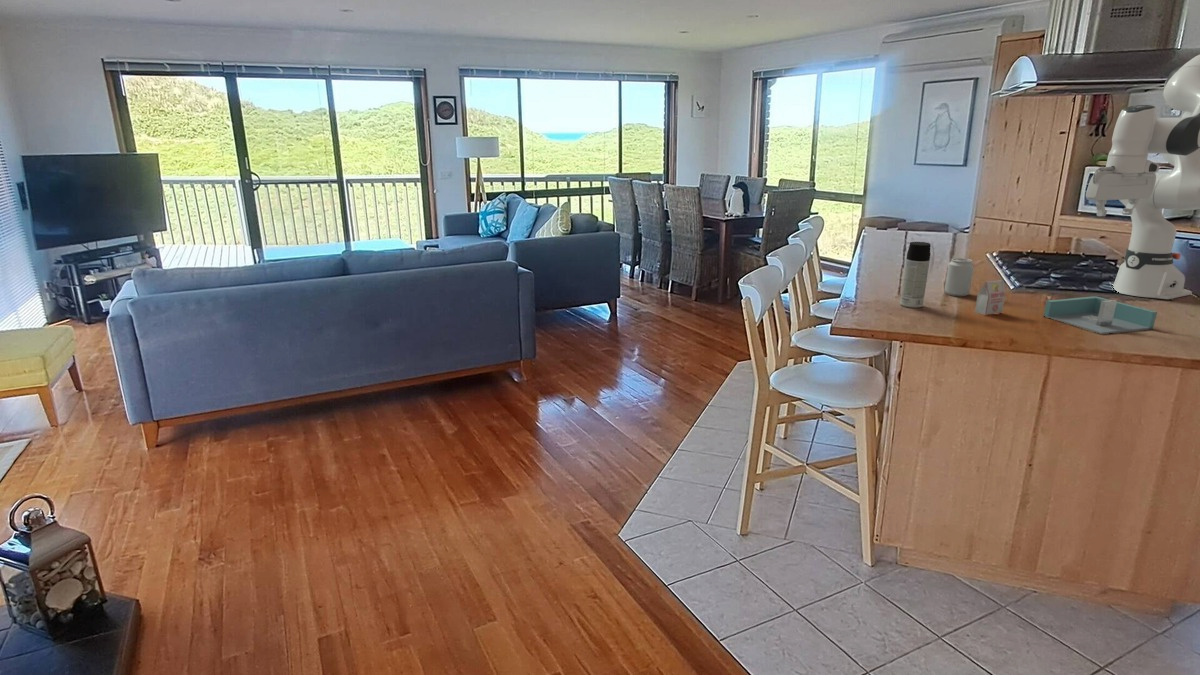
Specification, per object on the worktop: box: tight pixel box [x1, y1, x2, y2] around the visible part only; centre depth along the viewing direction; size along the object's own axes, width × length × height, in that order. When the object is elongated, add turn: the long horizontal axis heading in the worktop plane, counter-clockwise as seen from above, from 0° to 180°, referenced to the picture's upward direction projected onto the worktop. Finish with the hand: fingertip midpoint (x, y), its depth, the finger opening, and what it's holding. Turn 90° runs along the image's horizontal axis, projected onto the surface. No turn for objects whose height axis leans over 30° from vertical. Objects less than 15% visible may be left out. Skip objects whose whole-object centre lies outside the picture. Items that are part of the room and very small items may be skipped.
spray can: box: [899, 241, 932, 309], centre depth 204 cm, size 7×7×20 cm
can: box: [944, 257, 975, 297], centre depth 218 cm, size 8×8×12 cm
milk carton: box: [974, 279, 1006, 315], centre depth 196 cm, size 4×7×10 cm, turn 109°
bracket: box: [1080, 299, 1118, 326], centre depth 184 cm, size 6×4×7 cm, turn 14°
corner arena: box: [1043, 295, 1158, 335], centre depth 186 cm, size 18×18×5 cm
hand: (1114, 215), depth 188 cm, fingers open, 8 cm apart
